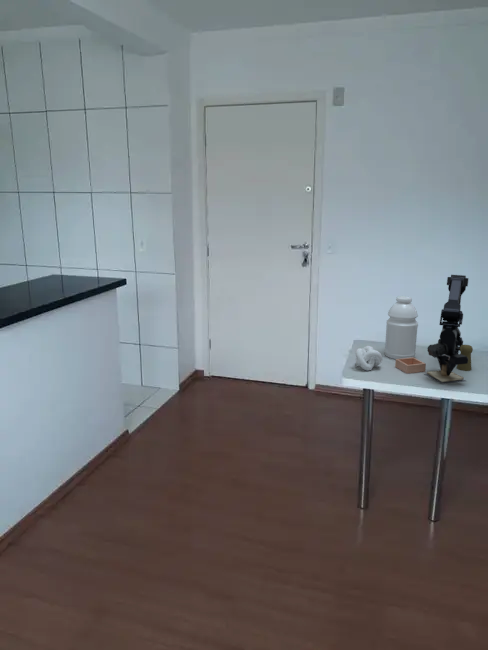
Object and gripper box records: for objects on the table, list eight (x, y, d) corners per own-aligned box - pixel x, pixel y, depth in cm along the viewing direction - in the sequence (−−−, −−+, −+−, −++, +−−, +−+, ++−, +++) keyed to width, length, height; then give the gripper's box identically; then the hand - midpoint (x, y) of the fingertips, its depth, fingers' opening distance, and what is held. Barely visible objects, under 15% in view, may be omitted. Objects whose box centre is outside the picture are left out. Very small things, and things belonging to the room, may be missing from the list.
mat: (447, 372, 223) (447, 371, 223) (466, 382, 212) (466, 381, 212) (423, 375, 220) (423, 374, 220) (441, 385, 209) (441, 384, 209)
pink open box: (412, 365, 231) (413, 357, 230) (425, 372, 223) (425, 363, 222) (395, 367, 229) (395, 359, 228) (406, 374, 221) (407, 365, 220)
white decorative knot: (370, 374, 221) (372, 354, 219) (346, 368, 229) (347, 348, 227) (384, 368, 229) (385, 348, 226) (360, 362, 237) (361, 343, 234)
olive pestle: (464, 372, 223) (467, 348, 220) (453, 368, 228) (455, 344, 225) (474, 370, 225) (477, 346, 223) (463, 366, 231) (465, 342, 228)
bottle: (378, 353, 248) (381, 296, 241) (399, 349, 255) (404, 293, 247) (399, 362, 236) (404, 301, 229) (421, 357, 243) (426, 298, 235)
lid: (447, 371, 222) (448, 360, 221) (463, 379, 213) (464, 368, 211) (427, 373, 219) (428, 362, 218) (442, 381, 210) (443, 370, 209)
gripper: (418, 333, 218) (415, 368, 222) (446, 345, 201) (442, 383, 205) (440, 331, 221) (437, 365, 225) (471, 343, 204) (466, 380, 208)
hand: (445, 373), depth 216 cm, fingers closed on lid, 3 cm apart
